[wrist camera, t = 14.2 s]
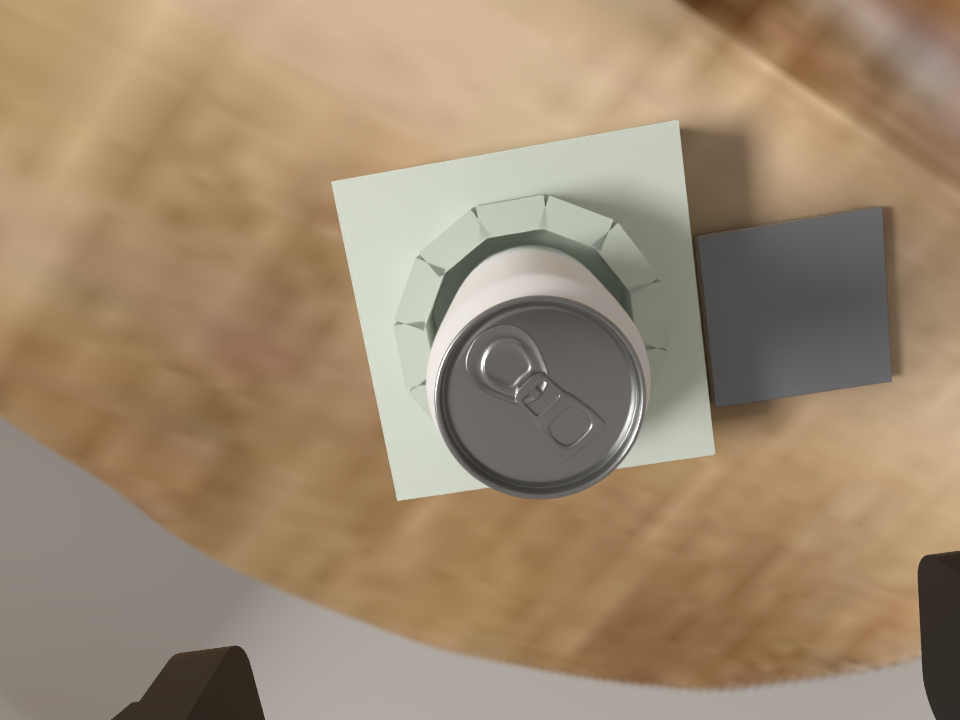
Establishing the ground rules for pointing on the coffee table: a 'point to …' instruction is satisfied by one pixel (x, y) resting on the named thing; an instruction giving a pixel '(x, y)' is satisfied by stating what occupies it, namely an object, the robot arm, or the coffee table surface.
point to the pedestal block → (527, 221)
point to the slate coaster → (795, 306)
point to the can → (537, 375)
